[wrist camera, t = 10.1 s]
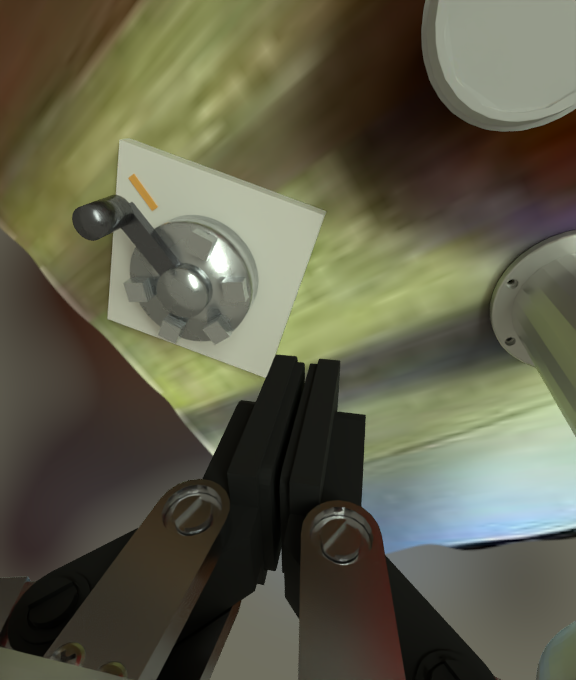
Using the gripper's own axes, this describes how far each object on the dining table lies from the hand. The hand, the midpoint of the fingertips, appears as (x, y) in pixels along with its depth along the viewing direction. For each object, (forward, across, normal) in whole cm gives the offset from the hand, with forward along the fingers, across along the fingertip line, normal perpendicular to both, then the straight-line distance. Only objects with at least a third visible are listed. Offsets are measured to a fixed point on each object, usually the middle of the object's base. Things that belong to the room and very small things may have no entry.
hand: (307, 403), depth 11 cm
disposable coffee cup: (+27, -8, -10) cm, 30 cm away
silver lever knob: (+25, +15, +6) cm, 30 cm away
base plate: (+27, +14, +7) cm, 31 cm away
